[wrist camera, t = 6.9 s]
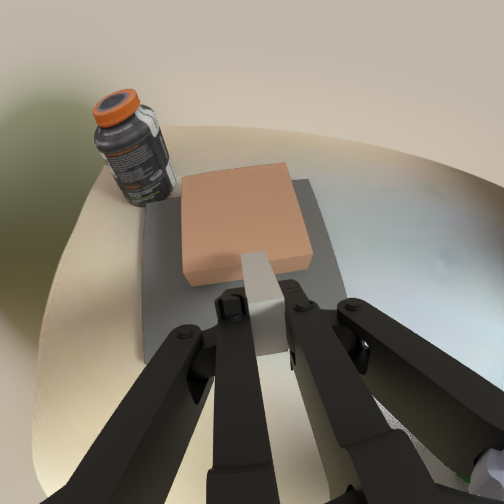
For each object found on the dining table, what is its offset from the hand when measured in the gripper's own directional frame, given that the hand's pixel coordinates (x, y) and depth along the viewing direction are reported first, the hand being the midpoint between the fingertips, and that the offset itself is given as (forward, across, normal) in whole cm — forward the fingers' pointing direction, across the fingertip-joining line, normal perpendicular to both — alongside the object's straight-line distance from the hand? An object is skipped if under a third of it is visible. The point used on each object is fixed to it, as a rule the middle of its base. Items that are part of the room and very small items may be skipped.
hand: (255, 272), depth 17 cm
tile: (+2, 0, +1) cm, 3 cm away
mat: (+5, +1, +1) cm, 6 cm away
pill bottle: (+13, +9, -6) cm, 17 cm away
